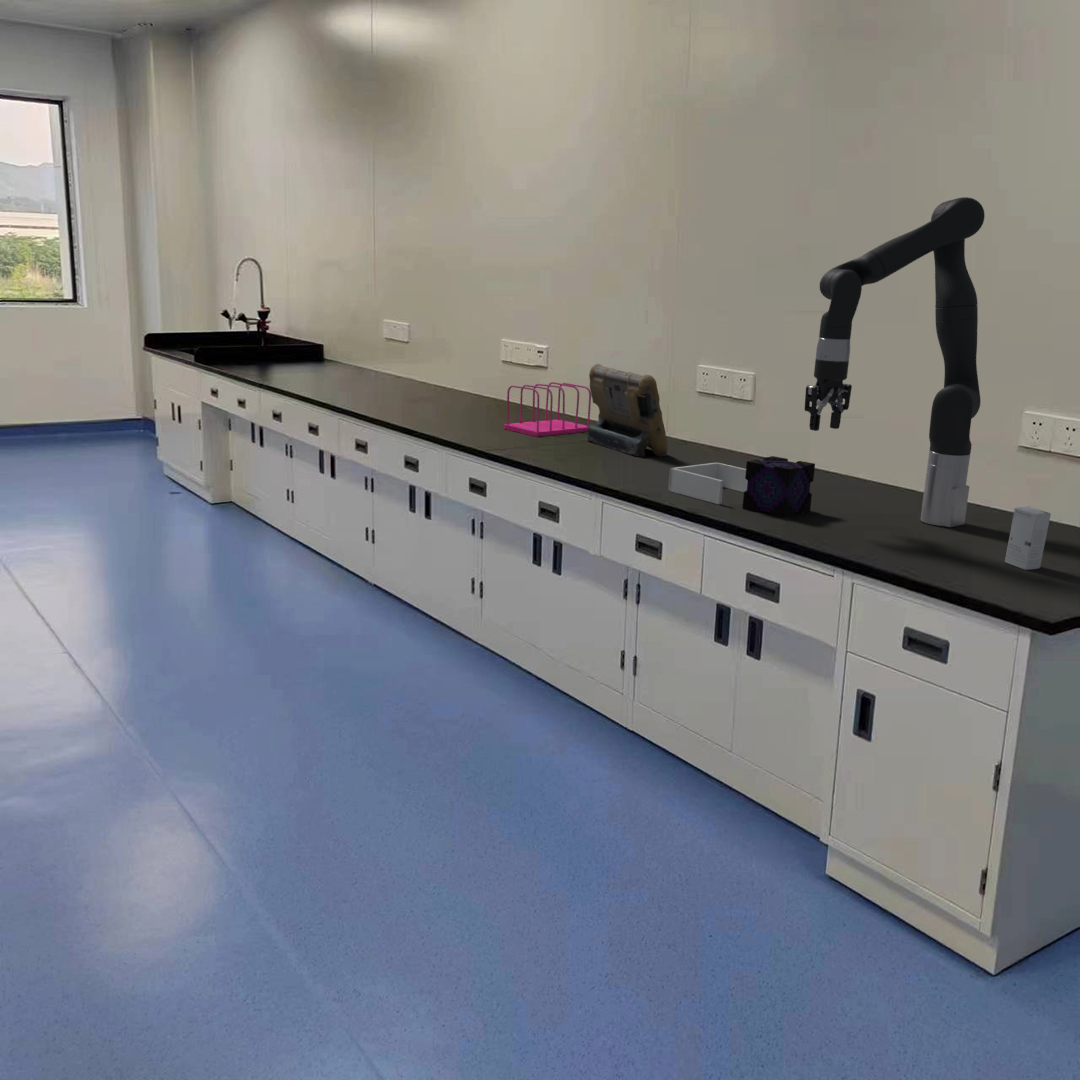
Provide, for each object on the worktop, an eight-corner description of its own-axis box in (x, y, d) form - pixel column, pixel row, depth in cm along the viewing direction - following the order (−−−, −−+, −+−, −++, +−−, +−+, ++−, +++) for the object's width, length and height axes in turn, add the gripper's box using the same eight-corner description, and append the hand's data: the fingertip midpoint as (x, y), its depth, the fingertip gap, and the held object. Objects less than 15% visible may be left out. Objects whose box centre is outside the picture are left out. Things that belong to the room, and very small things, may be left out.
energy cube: (785, 518, 268) (789, 469, 265) (742, 509, 276) (746, 461, 273) (810, 511, 277) (815, 463, 274) (768, 502, 285) (772, 456, 282)
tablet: (676, 455, 344) (682, 374, 337) (641, 459, 336) (646, 375, 330) (611, 438, 370) (615, 362, 363) (577, 441, 362) (581, 363, 356)
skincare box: (1003, 562, 236) (1012, 506, 233) (1019, 561, 238) (1028, 505, 235) (1026, 570, 231) (1035, 513, 228) (1042, 568, 233) (1051, 512, 230)
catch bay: (766, 497, 290) (768, 474, 289) (718, 504, 279) (720, 481, 278) (715, 484, 304) (717, 462, 302) (668, 490, 293) (669, 468, 291)
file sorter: (503, 429, 379) (505, 383, 375) (558, 424, 395) (560, 379, 391) (536, 437, 367) (538, 389, 363) (592, 431, 383) (594, 385, 379)
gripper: (825, 360, 250) (817, 433, 255) (865, 359, 259) (856, 429, 263) (799, 357, 256) (791, 428, 260) (838, 355, 265) (831, 425, 269)
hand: (824, 429), depth 262 cm, fingers open, 7 cm apart
